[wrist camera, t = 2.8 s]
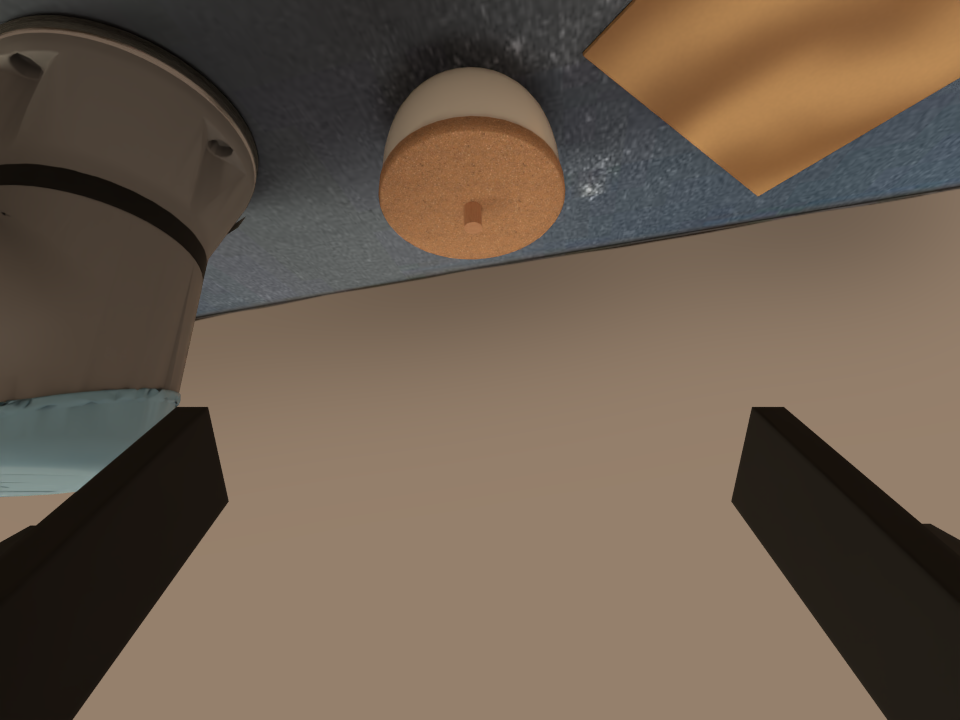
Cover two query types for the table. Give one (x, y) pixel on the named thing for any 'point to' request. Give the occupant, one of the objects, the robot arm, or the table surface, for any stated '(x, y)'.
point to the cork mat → (779, 72)
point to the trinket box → (471, 166)
